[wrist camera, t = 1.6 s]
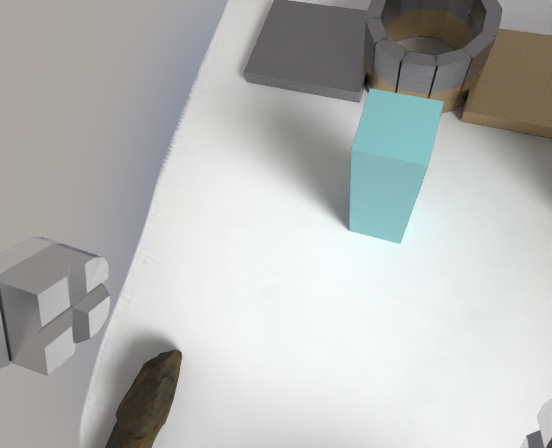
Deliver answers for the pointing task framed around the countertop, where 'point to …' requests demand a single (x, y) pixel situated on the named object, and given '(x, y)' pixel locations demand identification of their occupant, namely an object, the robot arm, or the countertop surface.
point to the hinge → (411, 58)
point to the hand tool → (147, 403)
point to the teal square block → (390, 161)
